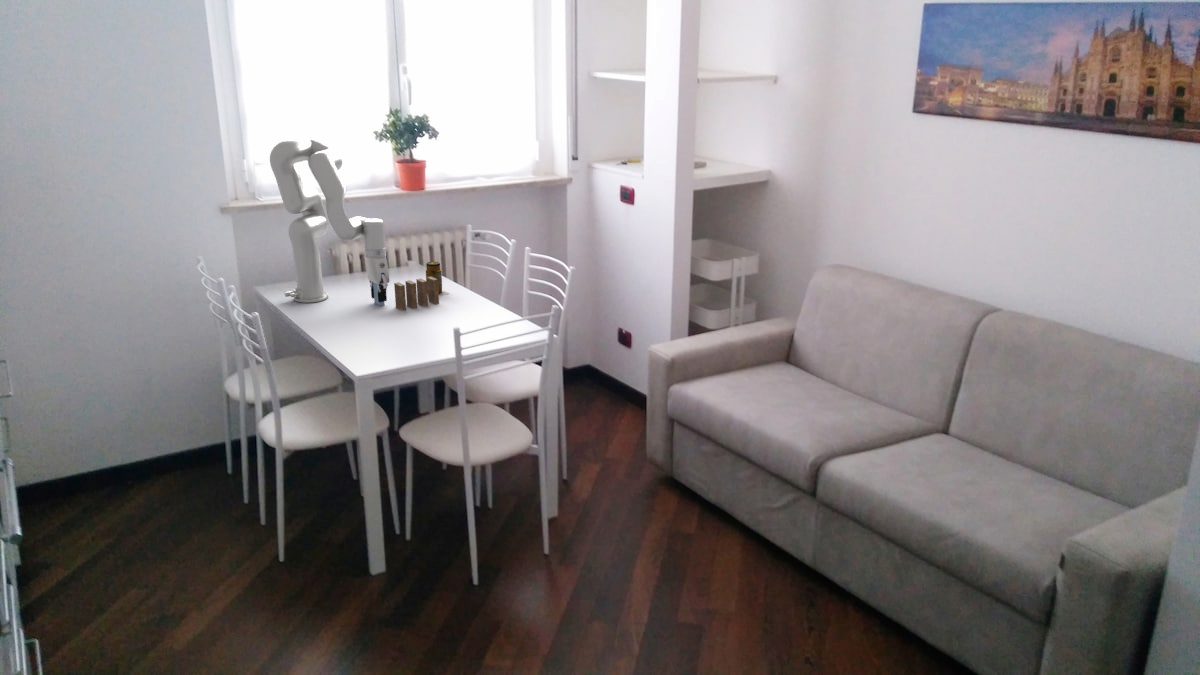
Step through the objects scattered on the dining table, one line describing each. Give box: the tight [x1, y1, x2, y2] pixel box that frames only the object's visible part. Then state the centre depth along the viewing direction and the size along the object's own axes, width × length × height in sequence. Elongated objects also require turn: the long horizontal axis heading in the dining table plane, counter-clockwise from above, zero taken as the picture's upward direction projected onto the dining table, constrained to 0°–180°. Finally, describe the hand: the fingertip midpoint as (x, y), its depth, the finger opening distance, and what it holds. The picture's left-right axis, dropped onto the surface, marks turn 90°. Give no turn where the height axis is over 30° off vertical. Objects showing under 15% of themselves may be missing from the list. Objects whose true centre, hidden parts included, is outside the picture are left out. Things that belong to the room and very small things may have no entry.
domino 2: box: [393, 281, 407, 312], centre depth 339 cm, size 2×5×10 cm, turn 38°
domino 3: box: [405, 279, 418, 309], centre depth 341 cm, size 2×5×10 cm, turn 37°
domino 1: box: [373, 282, 385, 307], centre depth 344 cm, size 2×5×10 cm, turn 37°
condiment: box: [425, 261, 449, 296], centre depth 358 cm, size 7×8×12 cm
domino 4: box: [415, 278, 429, 307], centre depth 344 cm, size 2×5×10 cm, turn 37°
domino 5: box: [427, 277, 440, 305], centre depth 347 cm, size 2×5×10 cm, turn 37°
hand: (379, 299), depth 345 cm, fingers open, 5 cm apart
